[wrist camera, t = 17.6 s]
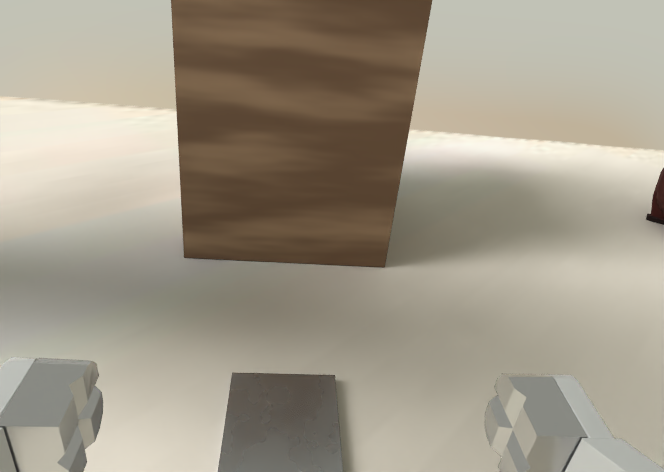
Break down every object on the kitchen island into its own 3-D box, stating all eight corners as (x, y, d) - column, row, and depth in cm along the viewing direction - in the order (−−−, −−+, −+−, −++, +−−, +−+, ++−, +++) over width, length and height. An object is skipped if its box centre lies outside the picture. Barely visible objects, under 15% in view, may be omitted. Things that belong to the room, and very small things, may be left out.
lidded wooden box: (398, 274, 42) (474, -112, 29) (168, 264, 40) (139, -155, 27) (370, 181, 57) (411, -98, 44) (203, 170, 55) (195, -125, 43)
